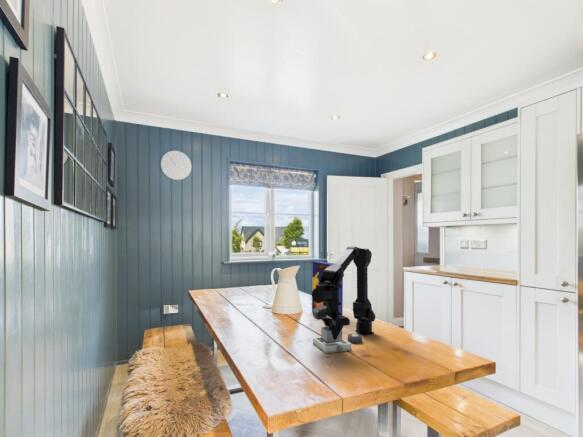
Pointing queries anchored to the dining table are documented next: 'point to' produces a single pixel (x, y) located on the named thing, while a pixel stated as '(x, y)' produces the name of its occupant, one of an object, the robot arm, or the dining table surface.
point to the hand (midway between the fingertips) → (331, 337)
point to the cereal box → (316, 276)
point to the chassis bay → (331, 345)
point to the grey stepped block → (329, 334)
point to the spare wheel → (355, 338)
